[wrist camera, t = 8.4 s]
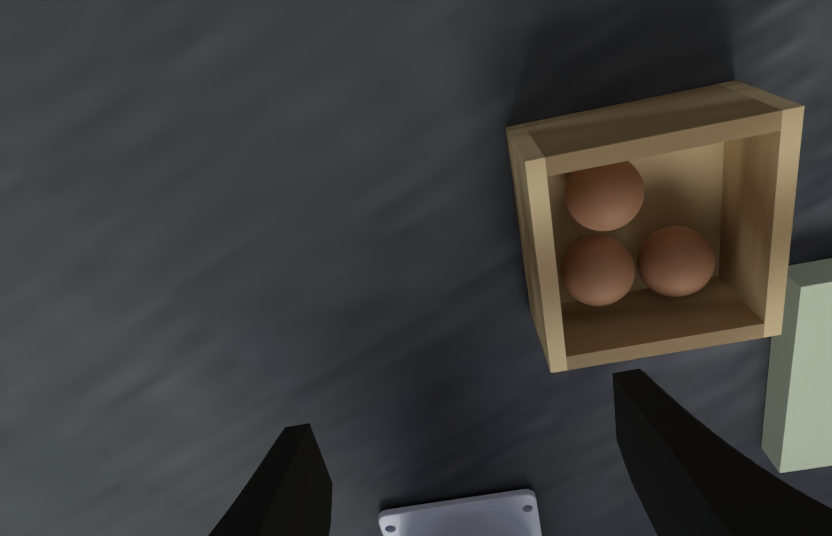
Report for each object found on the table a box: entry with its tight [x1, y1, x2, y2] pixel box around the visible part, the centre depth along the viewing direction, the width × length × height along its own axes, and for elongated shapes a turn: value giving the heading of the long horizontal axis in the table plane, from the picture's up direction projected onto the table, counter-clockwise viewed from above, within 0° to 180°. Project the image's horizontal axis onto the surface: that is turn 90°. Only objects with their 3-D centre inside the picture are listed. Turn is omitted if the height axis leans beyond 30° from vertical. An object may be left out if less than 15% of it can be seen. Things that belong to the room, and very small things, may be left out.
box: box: [506, 80, 804, 373], centre depth 21 cm, size 8×8×4 cm
